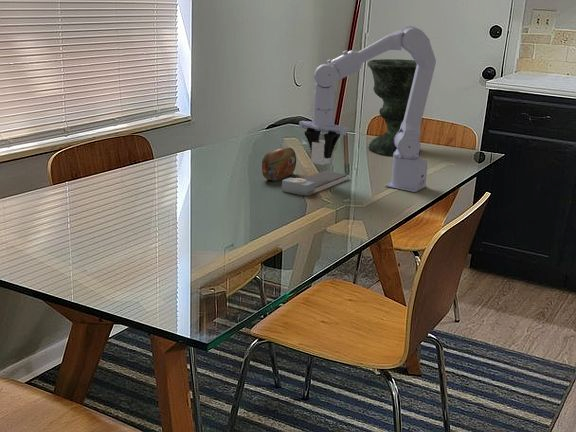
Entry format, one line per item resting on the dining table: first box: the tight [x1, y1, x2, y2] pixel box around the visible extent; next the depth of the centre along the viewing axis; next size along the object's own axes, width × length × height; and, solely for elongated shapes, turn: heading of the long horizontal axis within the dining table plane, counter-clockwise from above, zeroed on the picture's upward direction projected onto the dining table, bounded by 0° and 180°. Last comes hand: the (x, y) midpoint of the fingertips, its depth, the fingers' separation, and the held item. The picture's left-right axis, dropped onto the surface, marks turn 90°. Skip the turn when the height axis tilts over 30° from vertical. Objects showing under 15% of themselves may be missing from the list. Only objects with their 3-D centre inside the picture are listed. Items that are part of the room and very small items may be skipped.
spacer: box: [310, 139, 332, 166], centre depth 210 cm, size 4×4×6 cm
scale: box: [281, 170, 350, 197], centre depth 211 cm, size 8×23×4 cm, turn 146°
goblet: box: [367, 58, 421, 157], centre depth 253 cm, size 22×23×30 cm
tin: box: [261, 147, 297, 182], centre depth 217 cm, size 15×3×8 cm, turn 147°
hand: (321, 156), depth 211 cm, fingers closed on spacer, 4 cm apart
